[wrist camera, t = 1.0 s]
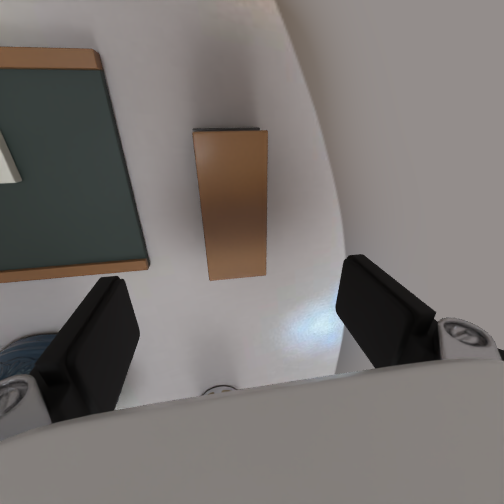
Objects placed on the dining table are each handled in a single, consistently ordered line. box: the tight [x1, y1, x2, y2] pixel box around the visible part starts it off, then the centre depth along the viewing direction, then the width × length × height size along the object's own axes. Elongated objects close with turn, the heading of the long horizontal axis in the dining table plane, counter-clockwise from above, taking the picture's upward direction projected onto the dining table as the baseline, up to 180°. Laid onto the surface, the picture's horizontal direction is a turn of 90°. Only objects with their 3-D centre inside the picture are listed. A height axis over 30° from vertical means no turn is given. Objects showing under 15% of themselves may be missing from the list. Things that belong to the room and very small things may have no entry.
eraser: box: [192, 128, 268, 281], centre depth 19 cm, size 11×5×5 cm, turn 1°
